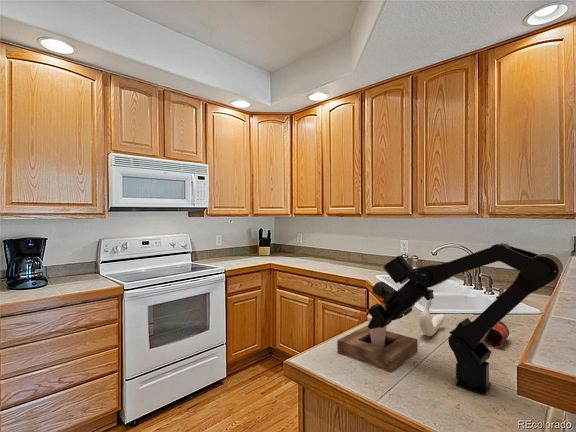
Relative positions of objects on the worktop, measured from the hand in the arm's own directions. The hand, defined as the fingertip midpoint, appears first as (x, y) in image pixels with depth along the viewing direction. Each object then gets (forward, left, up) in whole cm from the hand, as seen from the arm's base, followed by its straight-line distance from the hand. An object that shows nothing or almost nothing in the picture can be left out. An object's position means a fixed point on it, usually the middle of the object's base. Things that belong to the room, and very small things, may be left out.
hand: (373, 325), depth 99 cm
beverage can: (-26, -34, -9) cm, 44 cm away
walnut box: (-1, 0, -8) cm, 8 cm away
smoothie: (-1, 0, -7) cm, 7 cm away
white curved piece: (-8, -27, -9) cm, 29 cm away
